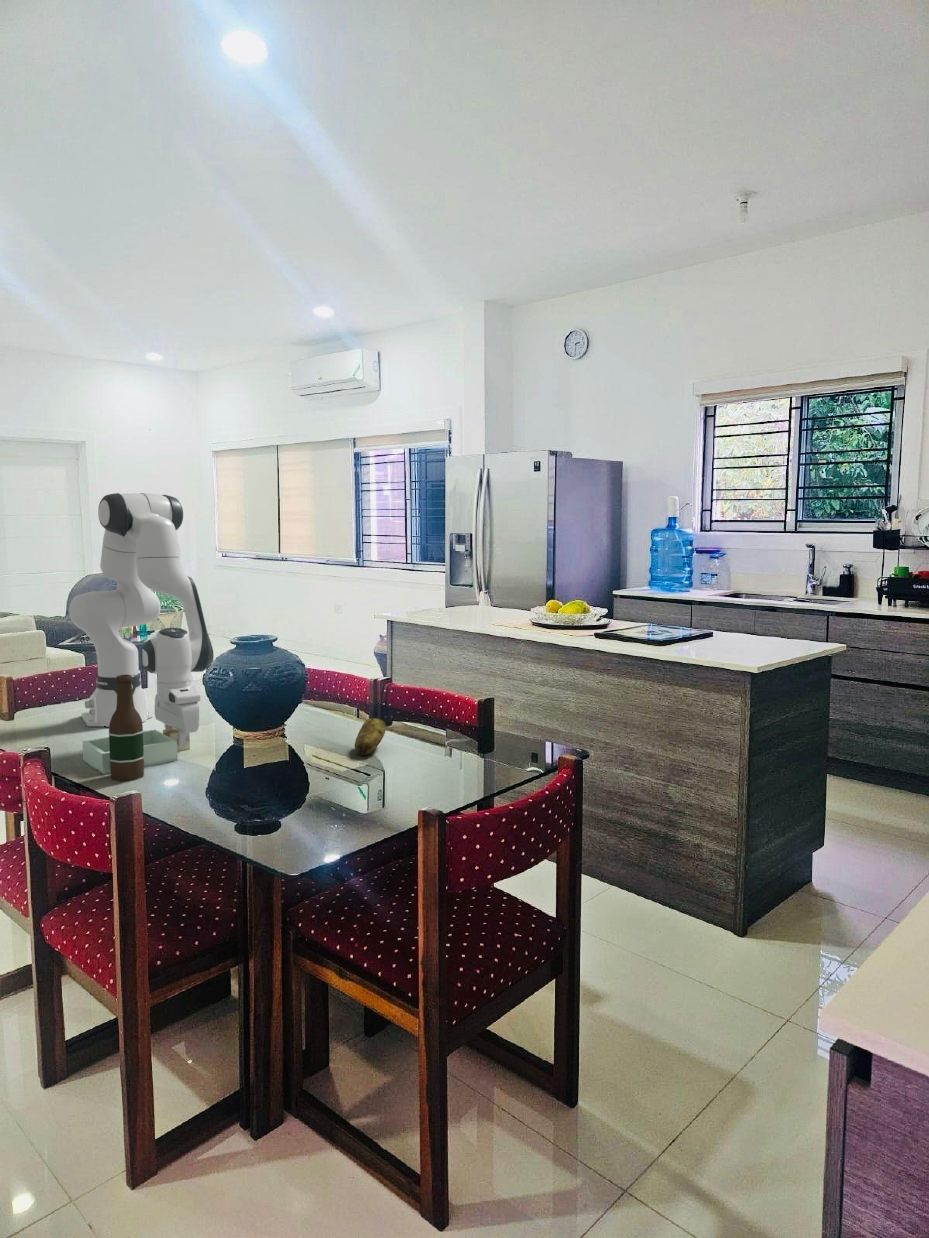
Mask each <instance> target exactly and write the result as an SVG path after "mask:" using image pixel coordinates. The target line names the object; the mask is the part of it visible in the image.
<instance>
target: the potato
mask: <svg viewBox="0 0 929 1238" xmlns="http://www.w3.org/2000/svg"><path fill="white" fill-rule="evenodd" d="M386 728H387V725H386V722H385V721H384V720H382V719H381V718H377V717H376V718H375V717H373V718H368V719H366V720H365V721H364V722H363V724H362V726H361V727H360V729H359V731H358V733H357V737H356V738H355V741H354V750H355V752H356V753H357V754H359V755H361V756H363V755H364V756H367V755H370V754H372V753H373V752H374V750H375V749H376V748H377V747H378V746H379V744H380V743H381V742H382V740H383V738H384V736H385V734H386Z"/></svg>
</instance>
